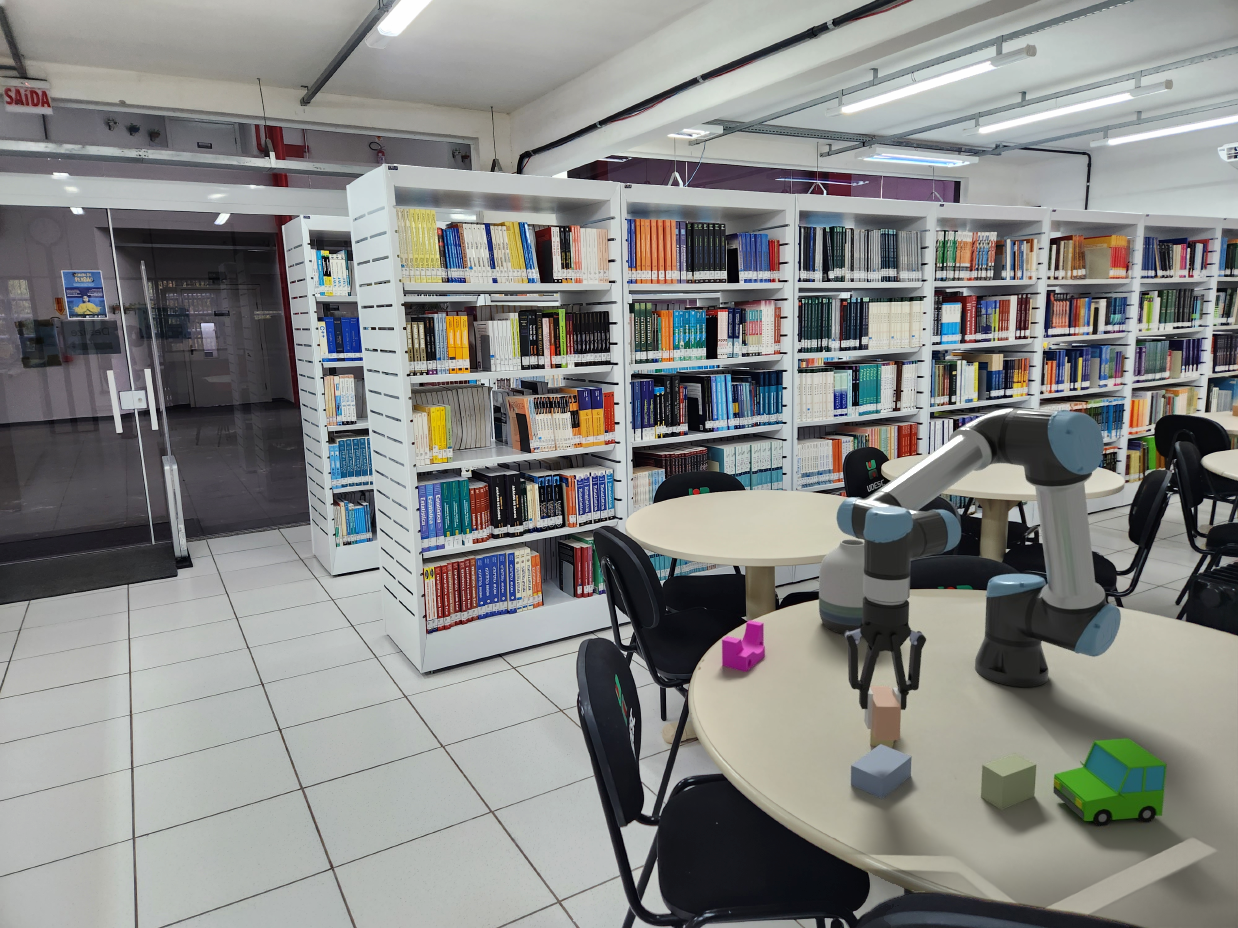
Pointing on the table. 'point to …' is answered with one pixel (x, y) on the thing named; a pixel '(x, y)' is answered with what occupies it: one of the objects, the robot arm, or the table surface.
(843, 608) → the vase
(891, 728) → the brick terracotta
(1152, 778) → the toy car
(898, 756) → the brick slate
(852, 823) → the table surface
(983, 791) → the brick olive
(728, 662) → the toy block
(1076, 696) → the table surface
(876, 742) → the brick ochre
